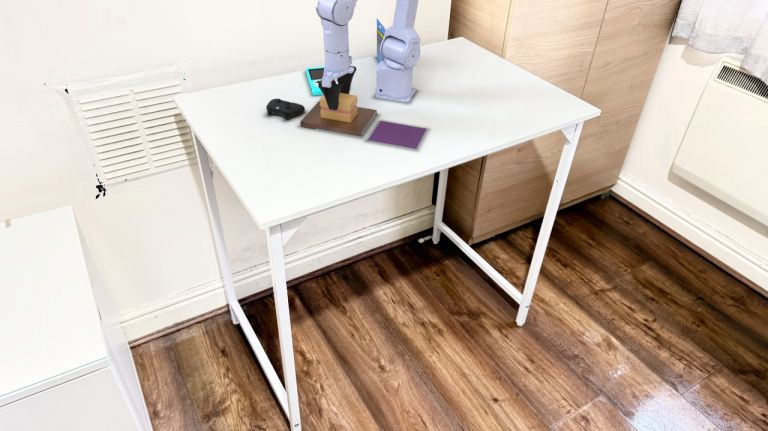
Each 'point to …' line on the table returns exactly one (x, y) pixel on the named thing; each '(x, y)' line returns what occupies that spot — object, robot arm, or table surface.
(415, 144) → the felt cloth
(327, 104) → the robot arm
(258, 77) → the table surface
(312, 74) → the handheld game console
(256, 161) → the table surface
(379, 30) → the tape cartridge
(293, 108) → the gaming controller
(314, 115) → the cutting board
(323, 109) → the sandwich
